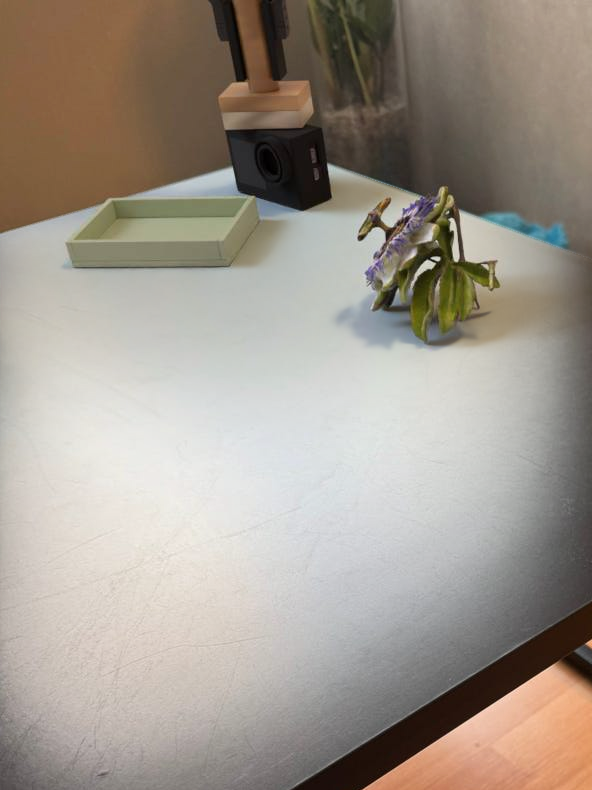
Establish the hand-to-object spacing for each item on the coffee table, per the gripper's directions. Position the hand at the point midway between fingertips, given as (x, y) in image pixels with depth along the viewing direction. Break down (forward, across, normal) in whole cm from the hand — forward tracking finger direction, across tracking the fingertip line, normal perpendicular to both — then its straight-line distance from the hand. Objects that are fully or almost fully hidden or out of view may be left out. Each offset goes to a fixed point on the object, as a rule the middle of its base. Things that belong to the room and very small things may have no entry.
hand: (262, 76), depth 99 cm
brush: (+4, 0, 0) cm, 4 cm away
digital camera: (+11, 0, +1) cm, 11 cm away
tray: (+11, +8, +13) cm, 19 cm away
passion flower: (+11, -20, +28) cm, 36 cm away
